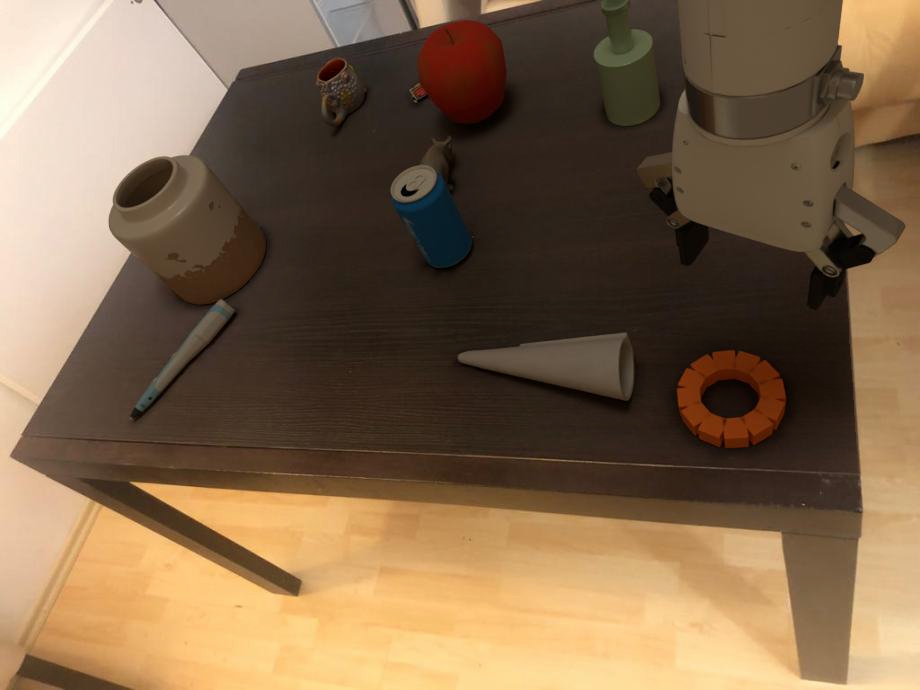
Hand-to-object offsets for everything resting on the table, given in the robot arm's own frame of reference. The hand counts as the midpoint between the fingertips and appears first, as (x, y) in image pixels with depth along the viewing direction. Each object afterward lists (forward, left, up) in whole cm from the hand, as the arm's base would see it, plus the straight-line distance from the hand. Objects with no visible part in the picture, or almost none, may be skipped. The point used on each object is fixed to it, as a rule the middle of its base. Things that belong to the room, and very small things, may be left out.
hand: (755, 272), depth 51 cm
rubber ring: (+3, +2, -16) cm, 17 cm away
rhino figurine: (+28, -40, -16) cm, 52 cm away
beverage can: (+28, -28, -16) cm, 43 cm away
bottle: (+1, -43, -16) cm, 46 cm away
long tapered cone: (+20, -6, -16) cm, 26 cm away
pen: (+66, -23, -16) cm, 72 cm away
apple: (+21, -53, -16) cm, 60 cm away
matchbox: (+29, -64, -16) cm, 72 cm away
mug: (+43, -66, -16) cm, 81 cm away
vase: (+63, -40, -16) cm, 76 cm away
